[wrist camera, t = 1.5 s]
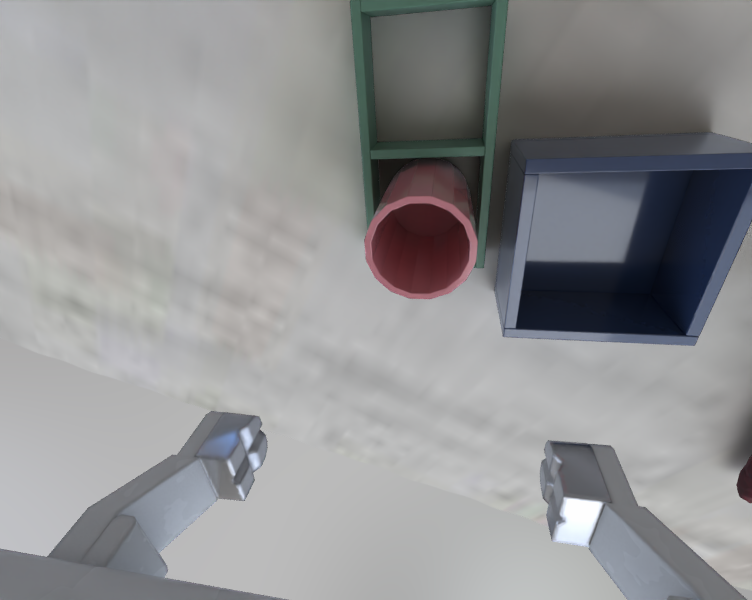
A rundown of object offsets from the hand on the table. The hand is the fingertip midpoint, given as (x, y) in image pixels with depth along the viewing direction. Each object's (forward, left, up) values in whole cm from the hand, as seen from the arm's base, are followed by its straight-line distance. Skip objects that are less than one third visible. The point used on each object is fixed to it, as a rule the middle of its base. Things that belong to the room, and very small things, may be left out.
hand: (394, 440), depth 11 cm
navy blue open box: (+2, +11, -22) cm, 25 cm away
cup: (0, 0, -22) cm, 22 cm away
